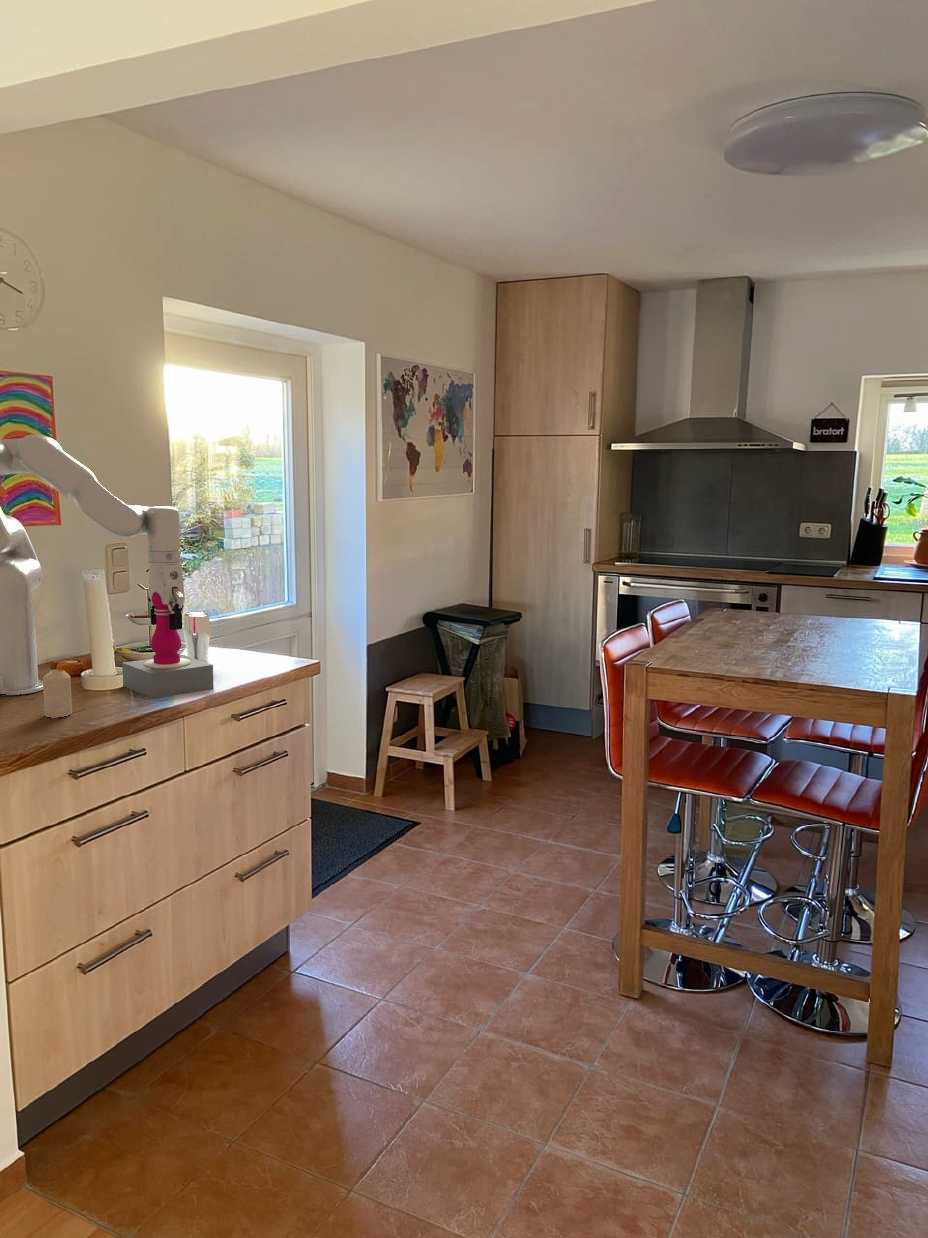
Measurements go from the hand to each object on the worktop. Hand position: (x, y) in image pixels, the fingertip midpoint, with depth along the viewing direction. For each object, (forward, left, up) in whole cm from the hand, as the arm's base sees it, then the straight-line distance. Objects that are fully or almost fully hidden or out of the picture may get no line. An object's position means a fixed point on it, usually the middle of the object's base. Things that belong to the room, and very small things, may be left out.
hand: (166, 626), depth 222 cm
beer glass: (+16, +15, -16) cm, 27 cm away
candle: (-30, -9, -16) cm, 35 cm away
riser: (0, 0, -15) cm, 15 cm away
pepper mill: (0, 0, -9) cm, 9 cm away
